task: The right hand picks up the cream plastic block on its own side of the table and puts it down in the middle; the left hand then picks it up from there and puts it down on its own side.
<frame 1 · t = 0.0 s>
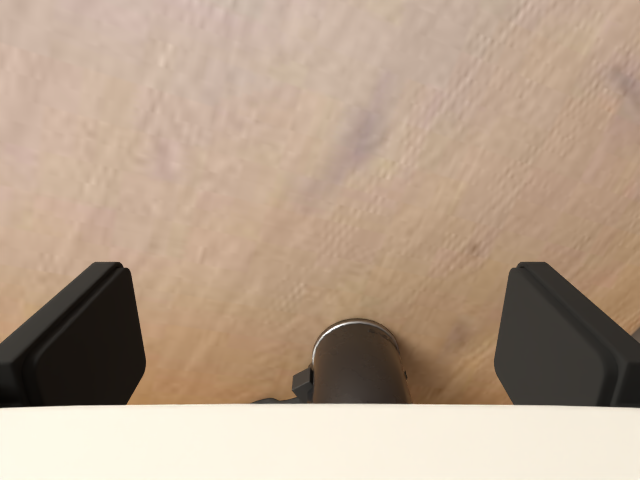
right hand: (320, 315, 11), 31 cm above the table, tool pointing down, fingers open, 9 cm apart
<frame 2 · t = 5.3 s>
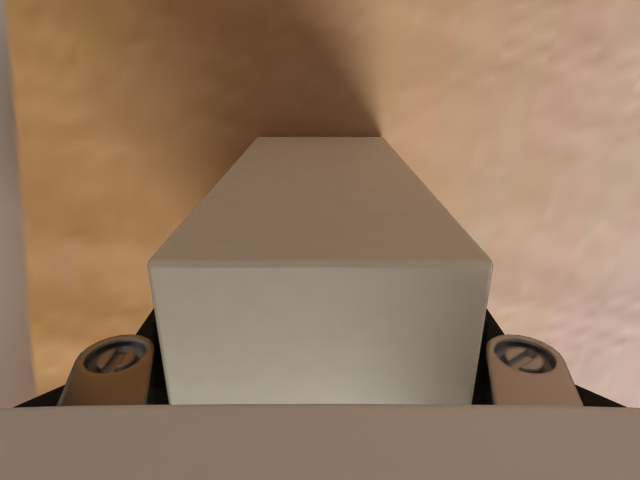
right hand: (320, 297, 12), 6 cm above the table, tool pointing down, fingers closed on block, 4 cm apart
block: (320, 226, 17), on the table, touching right hand
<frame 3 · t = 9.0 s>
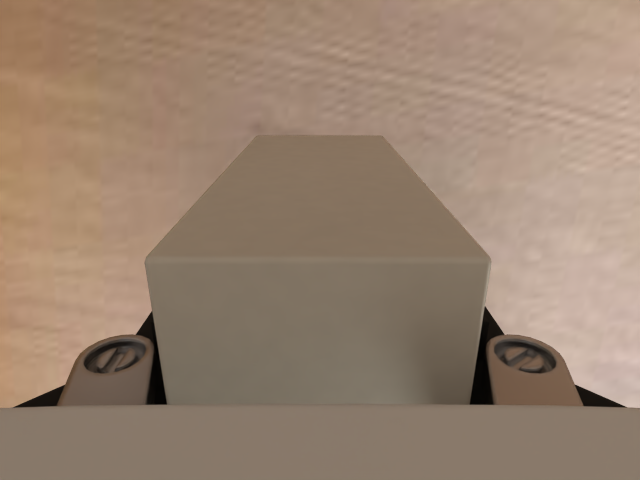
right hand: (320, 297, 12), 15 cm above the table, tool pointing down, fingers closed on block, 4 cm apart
block: (319, 225, 17), point 10 cm above the table, touching right hand
when the right hand's fingers open (7 cm above the table, at t = 12.7 s): block drops 1 cm, on the table.
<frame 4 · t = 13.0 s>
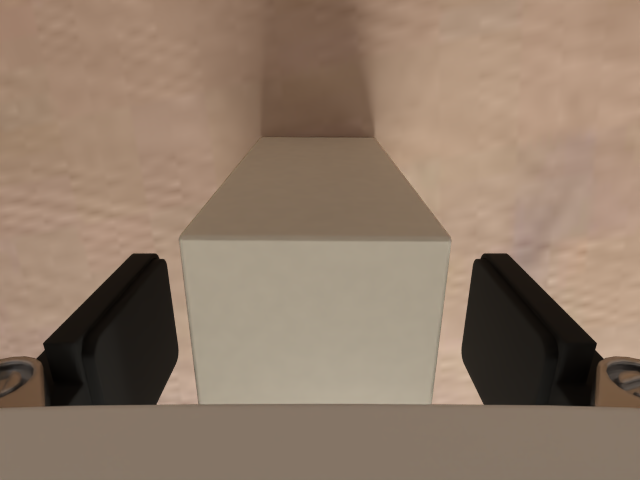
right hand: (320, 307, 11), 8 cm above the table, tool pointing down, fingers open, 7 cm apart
block: (317, 219, 19), on the table
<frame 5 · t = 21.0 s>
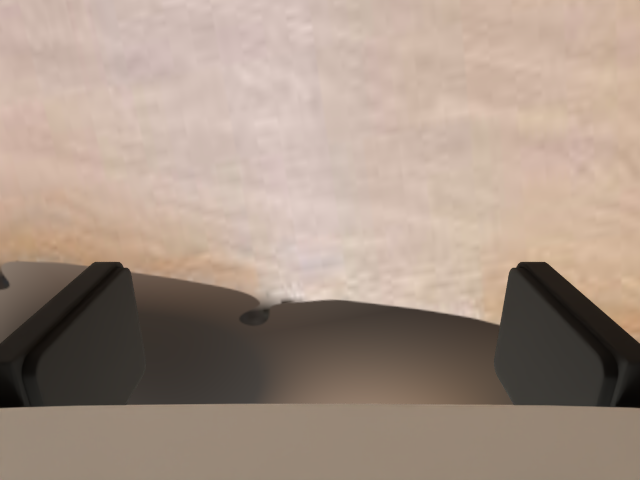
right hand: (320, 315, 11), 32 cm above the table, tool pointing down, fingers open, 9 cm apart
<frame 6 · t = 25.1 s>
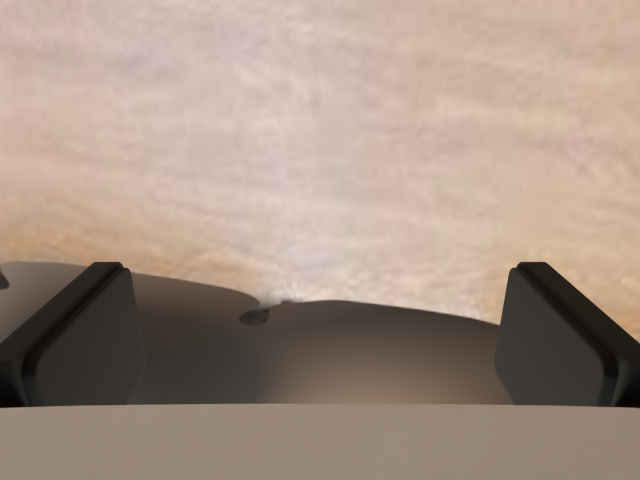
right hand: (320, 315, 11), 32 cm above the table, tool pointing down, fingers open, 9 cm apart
when the left hand's fingers open (8 cm above the table, at t = 29.4 s): block drops 1 cm, on the table.
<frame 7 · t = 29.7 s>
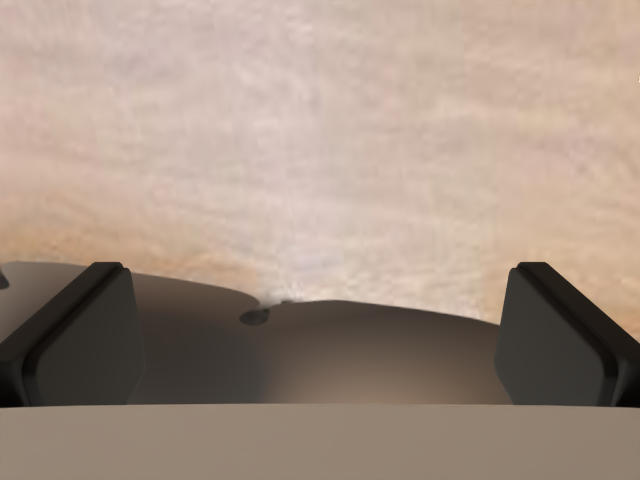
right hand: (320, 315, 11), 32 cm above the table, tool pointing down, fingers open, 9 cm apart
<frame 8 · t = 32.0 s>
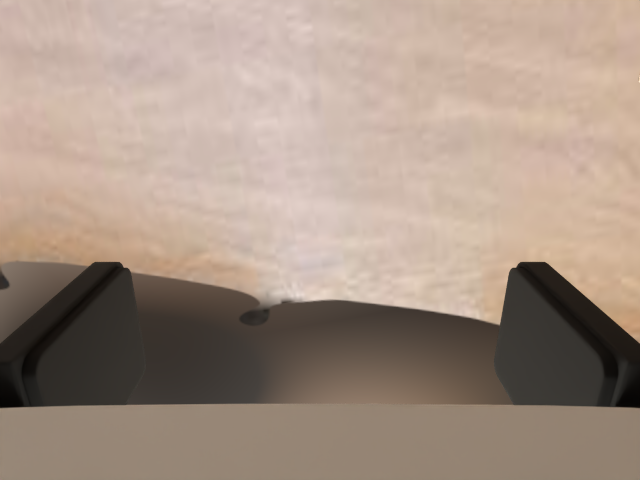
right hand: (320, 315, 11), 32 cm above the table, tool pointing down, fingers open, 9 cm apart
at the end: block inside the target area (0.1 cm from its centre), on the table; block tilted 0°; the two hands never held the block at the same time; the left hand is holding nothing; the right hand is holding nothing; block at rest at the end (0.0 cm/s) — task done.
